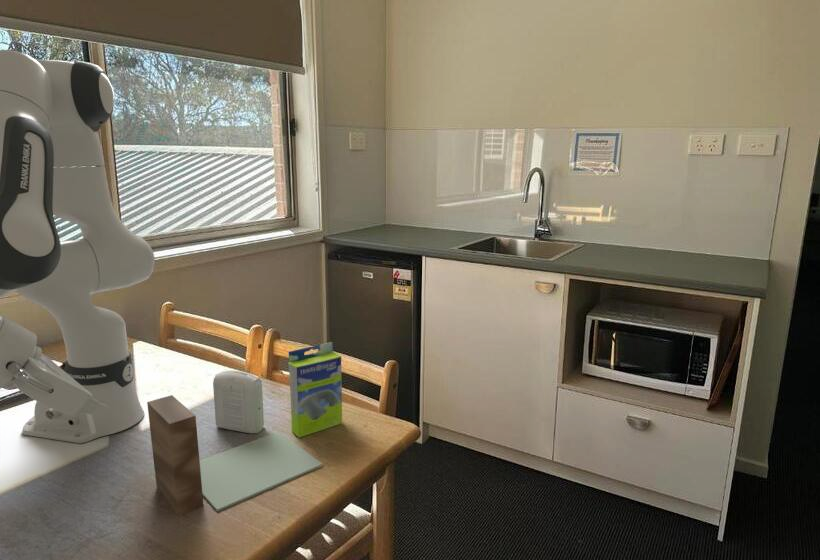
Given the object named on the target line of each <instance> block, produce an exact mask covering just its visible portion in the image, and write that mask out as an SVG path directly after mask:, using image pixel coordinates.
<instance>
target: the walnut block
mask: <svg viewBox="0 0 820 560" xmlns="http://www.w3.org/2000/svg"><path fill="white" fill-rule="evenodd" d="M146 403H147V404H146V405H147V412H148V422H149V423H148V424H149V431H150V438H151V439H150V440H151V450H152V457H153V466H154V475H155V476H154V477H155V485H156V489H157V491H158V492H159V494H161V496H162V497H163V499H165V501H166V502H167V503H168V504H169V506H170V507H171V508H172V509H173V511H174V512H175V513H176V515H177V516H178V517H180V516H183V515H186V514H188V513H190V512H192V511H195V510H198V509H199V508H202V507H204V496H203V493H202V482H201V471H200V460H201V459H200V451H199V450H200V449H199V441H198V440H199V439H198V429H197V417H196V415H195V414H194V413H193V412H192V411H191V410H190V409H188V407H186V406H185V405H184V404H183V403H181V402H180V401H179V400H178V399H177V398H176V397H175V396H174V395H173V394H171V395H168V396H164V397H160V398H157V399H154V400H148V401H147V402H146Z"/></svg>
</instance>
